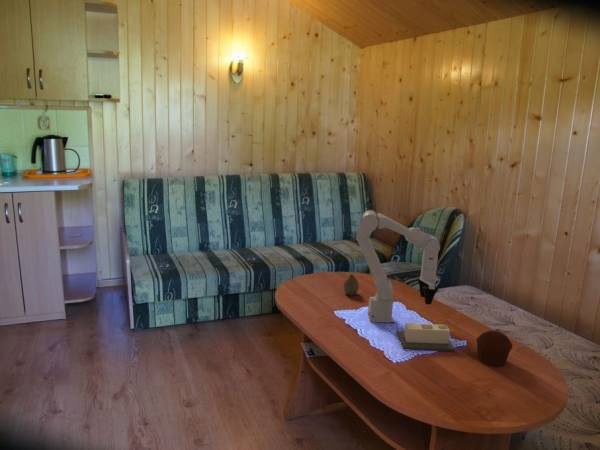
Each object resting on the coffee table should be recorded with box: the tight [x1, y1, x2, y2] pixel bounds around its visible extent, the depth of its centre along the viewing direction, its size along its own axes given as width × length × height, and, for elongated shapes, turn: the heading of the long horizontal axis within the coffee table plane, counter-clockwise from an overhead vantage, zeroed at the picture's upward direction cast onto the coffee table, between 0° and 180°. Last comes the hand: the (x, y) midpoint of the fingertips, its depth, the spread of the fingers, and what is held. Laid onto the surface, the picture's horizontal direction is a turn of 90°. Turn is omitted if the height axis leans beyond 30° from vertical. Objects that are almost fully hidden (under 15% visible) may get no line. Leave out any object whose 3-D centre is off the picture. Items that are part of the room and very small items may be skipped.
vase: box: [343, 274, 360, 296], centre depth 225 cm, size 7×7×9 cm
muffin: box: [476, 330, 513, 368], centre depth 168 cm, size 12×11×10 cm
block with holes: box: [404, 322, 451, 344], centre depth 180 cm, size 15×5×5 cm, turn 90°
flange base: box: [396, 330, 456, 353], centre depth 180 cm, size 18×13×4 cm
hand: (425, 300), depth 195 cm, fingers open, 7 cm apart
